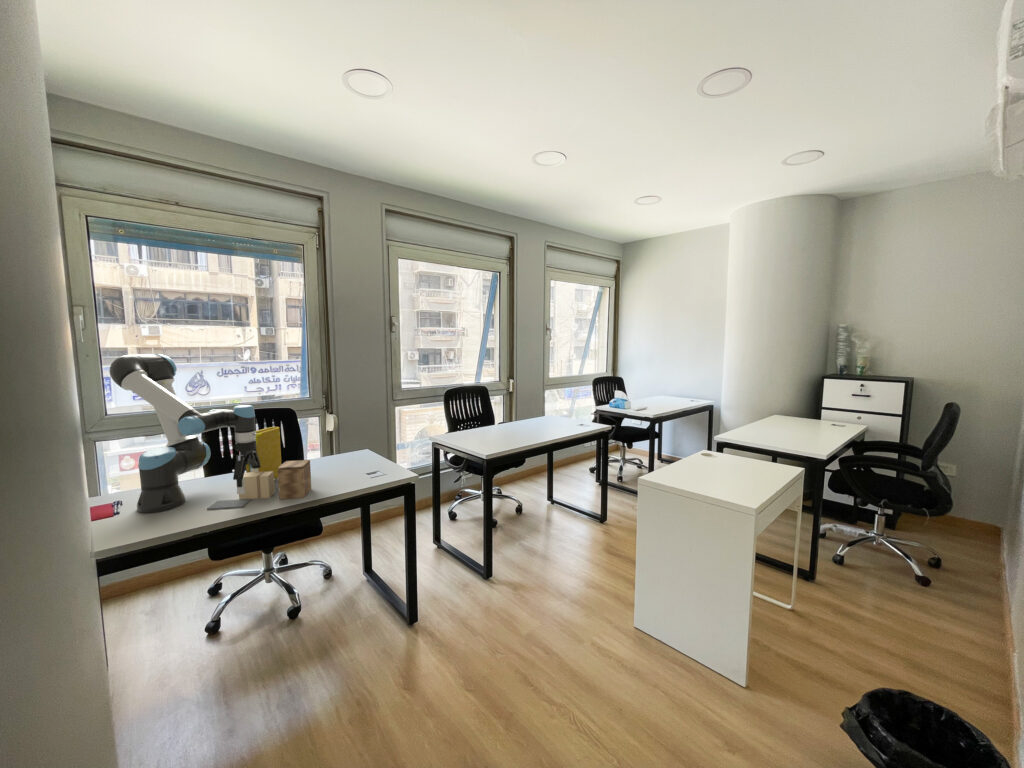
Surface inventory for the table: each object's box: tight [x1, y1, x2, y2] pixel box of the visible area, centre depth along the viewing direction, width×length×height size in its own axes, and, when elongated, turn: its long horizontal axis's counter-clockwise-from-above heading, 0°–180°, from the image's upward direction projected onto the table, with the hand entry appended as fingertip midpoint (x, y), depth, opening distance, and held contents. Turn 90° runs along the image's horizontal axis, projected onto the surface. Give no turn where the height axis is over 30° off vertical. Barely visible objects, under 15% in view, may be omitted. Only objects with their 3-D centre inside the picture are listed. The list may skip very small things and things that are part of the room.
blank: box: [238, 471, 276, 500], centre depth 178 cm, size 12×6×10 cm, turn 101°
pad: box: [206, 498, 252, 511], centre depth 168 cm, size 13×8×1 cm, turn 101°
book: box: [245, 426, 282, 480], centre depth 196 cm, size 17×7×25 cm, turn 168°
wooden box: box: [277, 459, 312, 500], centre depth 180 cm, size 10×10×14 cm
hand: (248, 487), depth 177 cm, fingers open, 13 cm apart
